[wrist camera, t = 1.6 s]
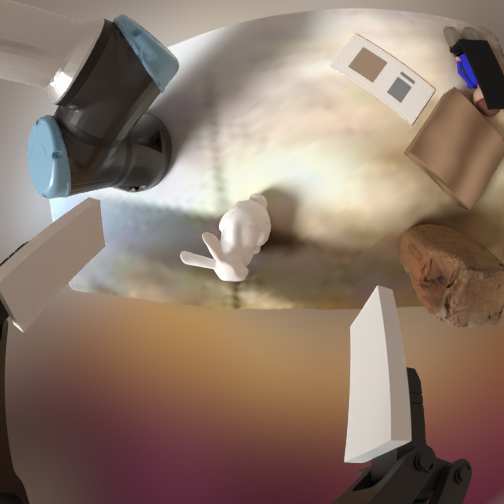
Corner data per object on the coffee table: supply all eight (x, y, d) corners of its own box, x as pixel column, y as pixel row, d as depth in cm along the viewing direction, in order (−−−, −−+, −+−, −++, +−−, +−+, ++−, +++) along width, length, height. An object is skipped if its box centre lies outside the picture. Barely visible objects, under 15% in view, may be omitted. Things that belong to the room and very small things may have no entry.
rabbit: (259, 268, 47) (234, 300, 36) (210, 246, 48) (174, 270, 37) (285, 201, 42) (265, 214, 31) (230, 180, 43) (195, 186, 33)
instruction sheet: (329, 66, 33) (329, 65, 33) (355, 34, 30) (355, 33, 30) (411, 124, 32) (412, 124, 32) (434, 90, 29) (435, 89, 29)
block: (457, 226, 34) (525, 271, 16) (449, 270, 36) (502, 336, 18) (399, 217, 37) (444, 260, 19) (392, 264, 39) (423, 335, 21)
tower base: (404, 152, 34) (412, 151, 29) (443, 94, 29) (454, 86, 24) (457, 205, 33) (470, 210, 29) (493, 147, 28) (508, 146, 23)
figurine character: (433, 41, 27) (471, 121, 28) (444, 19, 19) (491, 108, 21) (462, 41, 24) (499, 118, 26) (475, 20, 17) (520, 107, 18)
